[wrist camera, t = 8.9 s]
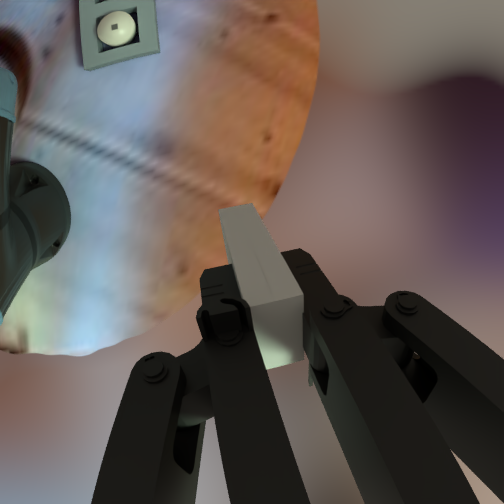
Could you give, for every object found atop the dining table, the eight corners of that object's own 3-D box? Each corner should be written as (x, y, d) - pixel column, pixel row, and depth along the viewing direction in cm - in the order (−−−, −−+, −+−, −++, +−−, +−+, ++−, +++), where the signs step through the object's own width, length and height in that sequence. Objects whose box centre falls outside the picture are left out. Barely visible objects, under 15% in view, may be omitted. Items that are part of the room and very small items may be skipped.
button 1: (105, 51, 26) (98, 48, 24) (103, 22, 24) (95, 17, 21) (138, 42, 27) (134, 37, 24) (136, 13, 25) (131, 6, 22)
